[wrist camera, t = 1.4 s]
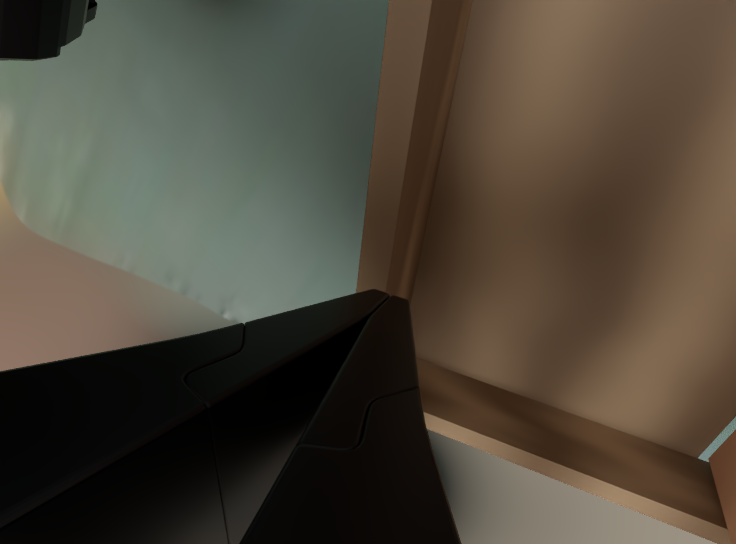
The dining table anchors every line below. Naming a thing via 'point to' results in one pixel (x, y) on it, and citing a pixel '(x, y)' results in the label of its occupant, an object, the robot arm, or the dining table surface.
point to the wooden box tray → (566, 235)
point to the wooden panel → (726, 481)
